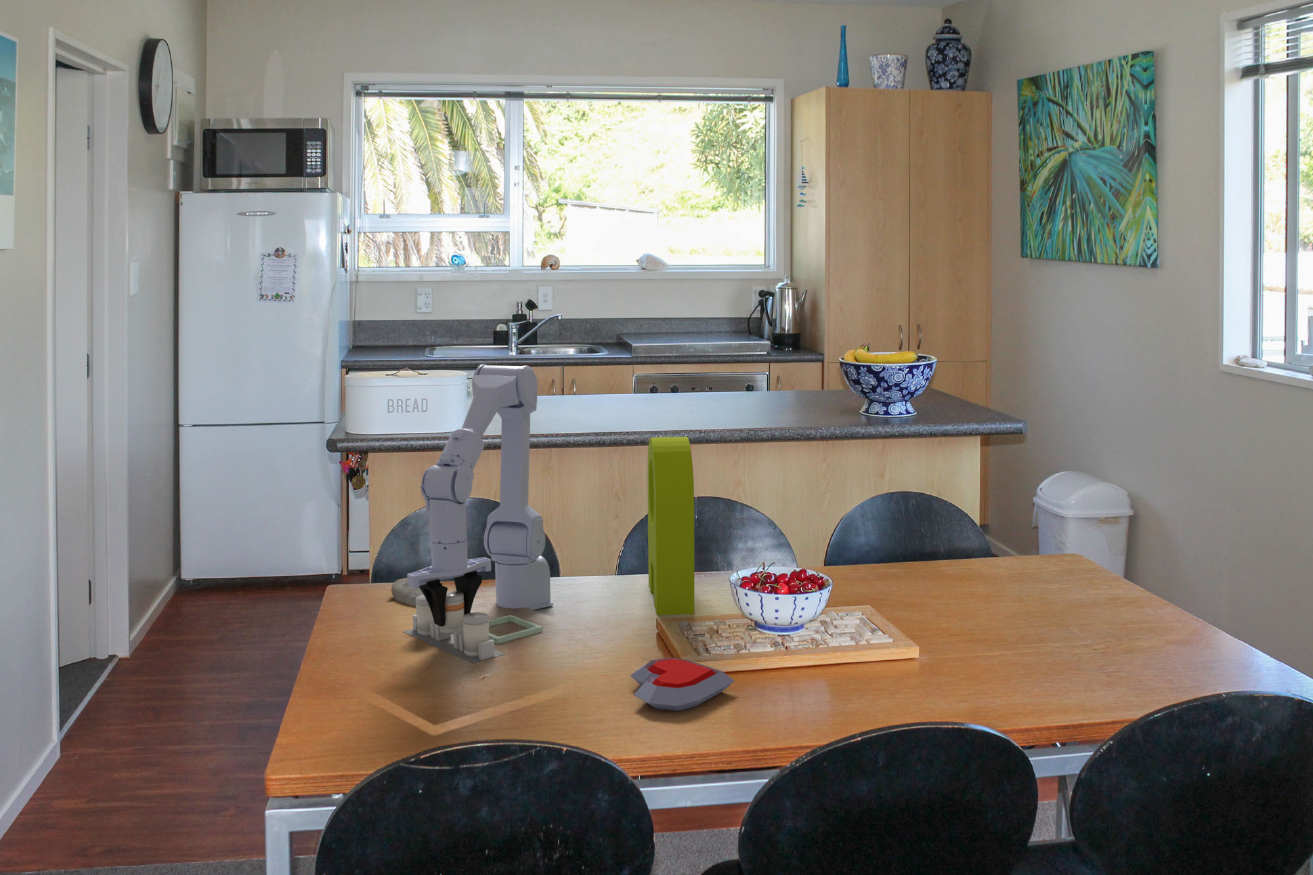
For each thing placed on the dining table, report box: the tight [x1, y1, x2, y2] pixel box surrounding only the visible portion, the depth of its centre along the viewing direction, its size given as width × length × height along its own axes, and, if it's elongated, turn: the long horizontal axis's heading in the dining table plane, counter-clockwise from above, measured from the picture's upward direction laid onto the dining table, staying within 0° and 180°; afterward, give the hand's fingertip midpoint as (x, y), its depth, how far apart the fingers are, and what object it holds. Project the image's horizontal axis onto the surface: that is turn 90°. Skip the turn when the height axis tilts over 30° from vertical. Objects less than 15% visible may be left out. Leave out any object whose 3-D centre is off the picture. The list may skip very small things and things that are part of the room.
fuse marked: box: [439, 590, 464, 634], centre depth 189 cm, size 4×4×6 cm
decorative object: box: [647, 436, 696, 616], centre depth 214 cm, size 20×7×30 cm, turn 5°
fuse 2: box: [463, 612, 490, 657], centre depth 184 cm, size 4×4×6 cm
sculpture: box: [630, 656, 735, 712], centre depth 169 cm, size 17×4×15 cm
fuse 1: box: [415, 595, 434, 636], centre depth 194 cm, size 4×4×6 cm
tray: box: [489, 614, 543, 645], centre depth 195 cm, size 9×9×2 cm
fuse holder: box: [402, 614, 506, 664], centre depth 189 cm, size 6×21×4 cm, turn 42°
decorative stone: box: [390, 577, 423, 607], centre depth 215 cm, size 6×16×3 cm, turn 32°
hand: (452, 621), depth 189 cm, fingers closed on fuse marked, 4 cm apart
